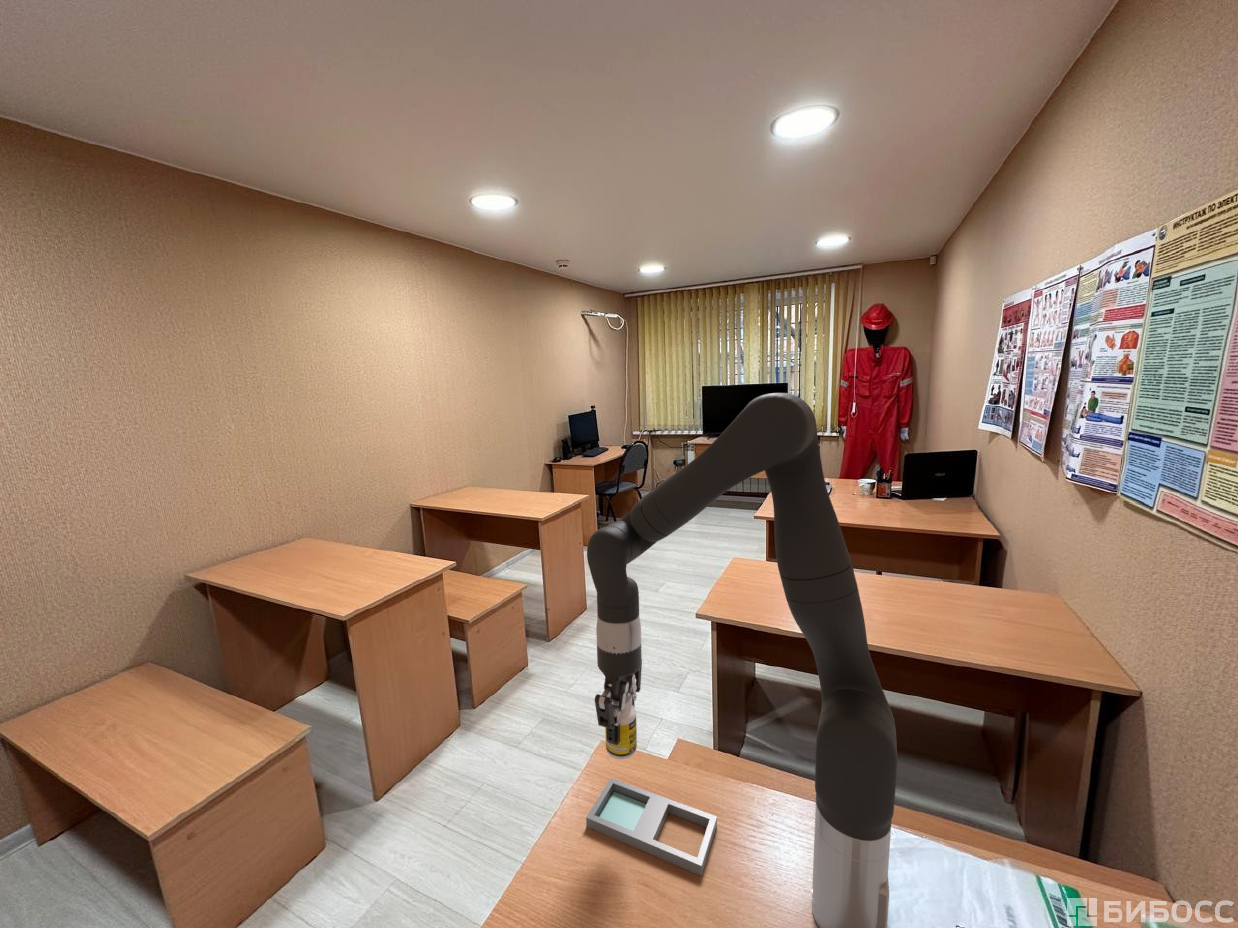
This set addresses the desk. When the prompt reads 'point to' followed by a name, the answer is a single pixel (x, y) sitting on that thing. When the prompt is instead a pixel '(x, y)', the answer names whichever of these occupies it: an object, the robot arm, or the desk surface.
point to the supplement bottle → (625, 732)
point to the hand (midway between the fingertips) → (621, 730)
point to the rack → (647, 822)
